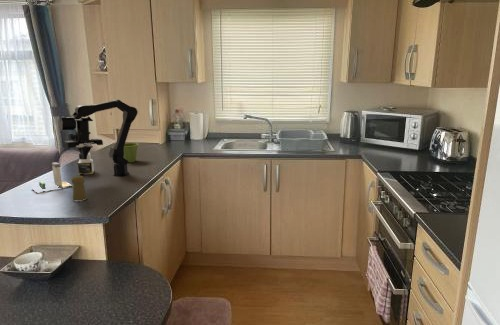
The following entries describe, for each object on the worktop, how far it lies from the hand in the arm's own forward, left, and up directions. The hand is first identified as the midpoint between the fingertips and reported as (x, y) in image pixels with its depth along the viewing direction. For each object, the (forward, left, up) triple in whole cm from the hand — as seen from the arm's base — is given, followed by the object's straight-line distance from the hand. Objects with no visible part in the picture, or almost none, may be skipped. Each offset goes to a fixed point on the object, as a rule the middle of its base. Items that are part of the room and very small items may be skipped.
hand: (84, 159), depth 193 cm
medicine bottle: (+10, -14, -12) cm, 21 cm away
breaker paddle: (+7, +13, -11) cm, 18 cm away
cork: (-17, +29, -12) cm, 35 cm away
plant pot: (0, -45, -12) cm, 47 cm away
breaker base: (+9, +15, -12) cm, 21 cm away
